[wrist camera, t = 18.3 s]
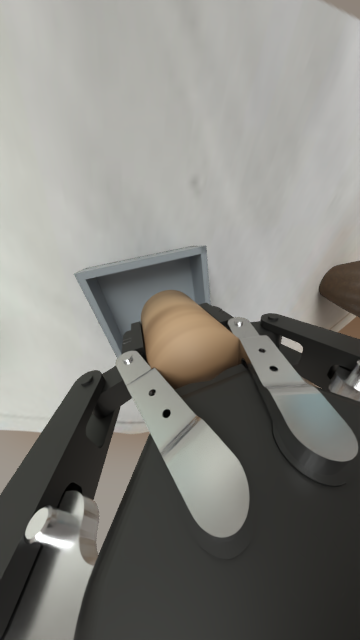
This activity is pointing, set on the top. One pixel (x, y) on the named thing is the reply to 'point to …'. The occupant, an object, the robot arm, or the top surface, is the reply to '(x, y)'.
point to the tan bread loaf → (185, 340)
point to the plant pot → (343, 286)
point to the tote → (141, 286)
